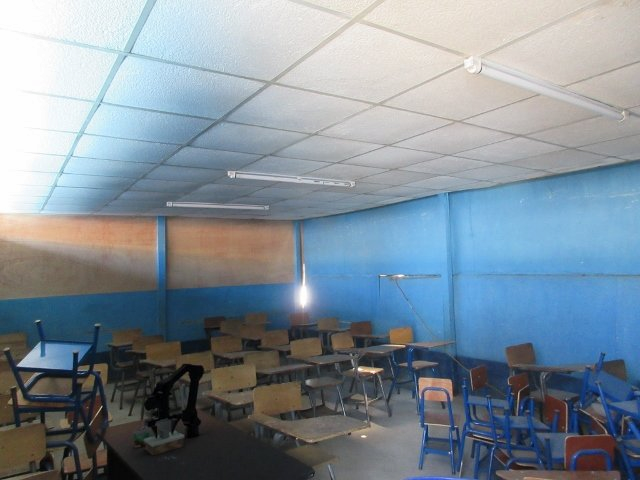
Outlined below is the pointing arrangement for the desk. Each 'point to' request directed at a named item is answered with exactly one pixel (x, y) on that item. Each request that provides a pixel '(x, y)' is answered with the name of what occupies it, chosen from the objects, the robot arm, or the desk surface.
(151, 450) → the crate
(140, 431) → the food container
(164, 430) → the lid
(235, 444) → the desk surface
